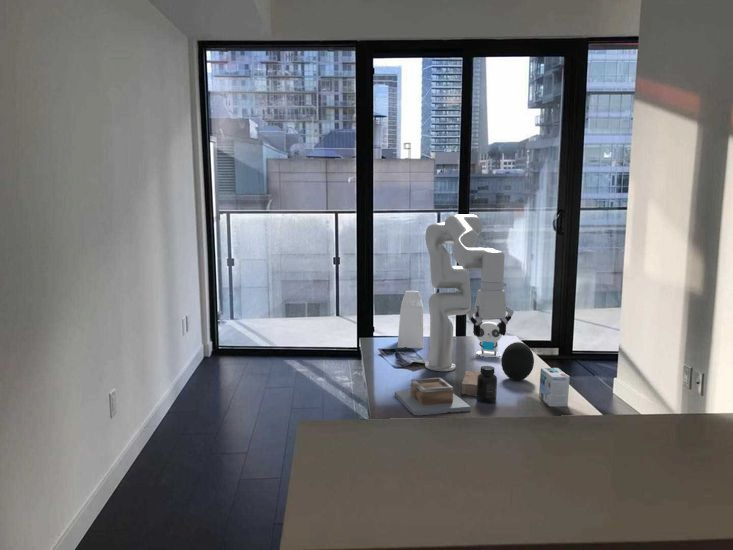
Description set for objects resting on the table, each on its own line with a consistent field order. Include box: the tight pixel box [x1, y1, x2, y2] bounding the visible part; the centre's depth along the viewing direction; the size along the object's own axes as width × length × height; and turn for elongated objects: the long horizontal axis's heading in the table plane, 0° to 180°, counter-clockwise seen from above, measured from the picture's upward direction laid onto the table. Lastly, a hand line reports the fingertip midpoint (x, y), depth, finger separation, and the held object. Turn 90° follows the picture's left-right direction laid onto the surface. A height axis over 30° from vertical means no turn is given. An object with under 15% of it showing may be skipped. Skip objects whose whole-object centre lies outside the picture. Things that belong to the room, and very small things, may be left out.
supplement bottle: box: [476, 365, 498, 404], centre depth 210 cm, size 7×7×12 cm
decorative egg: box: [500, 341, 535, 381], centre depth 235 cm, size 12×12×15 cm
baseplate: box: [394, 389, 472, 416], centre depth 207 cm, size 20×20×2 cm
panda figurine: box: [475, 320, 503, 358], centre depth 272 cm, size 12×11×15 cm
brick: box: [461, 370, 481, 397], centre depth 224 cm, size 17×8×5 cm, turn 166°
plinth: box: [410, 377, 454, 405], centre depth 207 cm, size 11×11×6 cm
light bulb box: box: [538, 367, 571, 407], centre depth 211 cm, size 11×7×11 cm, turn 5°
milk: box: [397, 290, 424, 349], centre depth 285 cm, size 12×12×26 cm
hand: (489, 335), depth 208 cm, fingers open, 9 cm apart
